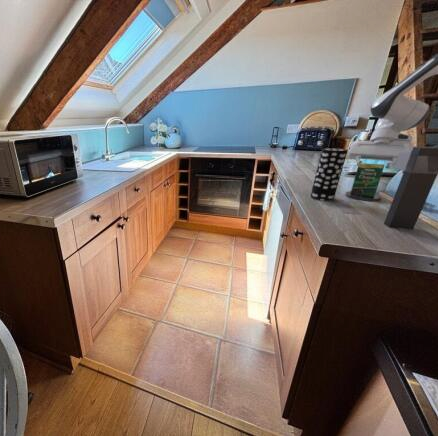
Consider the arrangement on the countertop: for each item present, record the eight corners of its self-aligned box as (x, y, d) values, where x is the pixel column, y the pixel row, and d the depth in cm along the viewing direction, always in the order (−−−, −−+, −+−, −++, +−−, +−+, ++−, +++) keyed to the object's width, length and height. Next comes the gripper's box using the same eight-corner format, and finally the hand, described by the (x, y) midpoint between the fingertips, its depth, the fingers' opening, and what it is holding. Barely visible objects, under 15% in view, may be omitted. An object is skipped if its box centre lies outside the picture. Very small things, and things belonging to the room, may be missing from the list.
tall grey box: (375, 217, 83) (402, 144, 74) (397, 219, 81) (427, 144, 72) (389, 227, 76) (420, 147, 66) (413, 229, 74) (449, 148, 65)
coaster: (361, 192, 109) (362, 190, 109) (385, 200, 99) (386, 198, 98) (338, 193, 108) (339, 191, 108) (360, 201, 98) (361, 199, 98)
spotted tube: (333, 196, 104) (346, 148, 97) (334, 202, 98) (348, 151, 90) (310, 194, 109) (321, 147, 101) (310, 199, 102) (322, 150, 94)
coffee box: (349, 193, 105) (358, 163, 100) (350, 192, 107) (360, 162, 102) (373, 197, 99) (384, 165, 94) (374, 196, 101) (385, 164, 96)
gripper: (353, 135, 111) (343, 159, 108) (418, 136, 97) (408, 164, 95) (352, 144, 115) (342, 168, 113) (413, 146, 102) (404, 173, 99)
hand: (372, 166), depth 104 cm, fingers open, 8 cm apart
